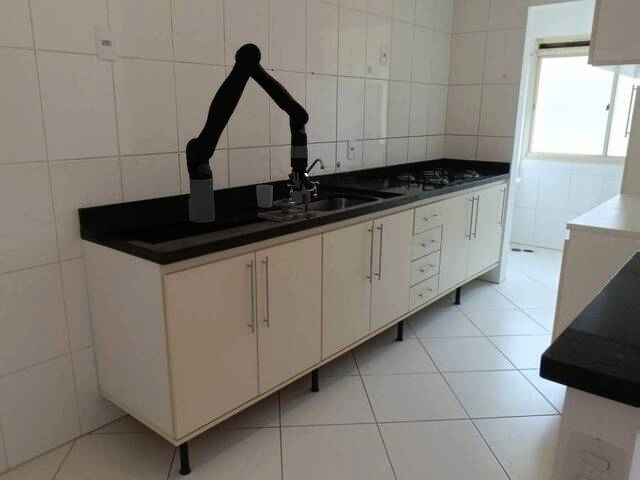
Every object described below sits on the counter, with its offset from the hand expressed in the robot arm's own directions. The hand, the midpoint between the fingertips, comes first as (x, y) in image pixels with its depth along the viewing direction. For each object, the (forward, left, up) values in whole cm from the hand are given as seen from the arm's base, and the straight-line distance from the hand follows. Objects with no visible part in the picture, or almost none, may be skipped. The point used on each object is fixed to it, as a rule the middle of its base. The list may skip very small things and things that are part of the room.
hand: (299, 196), depth 219 cm
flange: (-7, -3, -2) cm, 8 cm away
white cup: (-1, +25, -8) cm, 26 cm away
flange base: (-9, -3, -8) cm, 12 cm away
